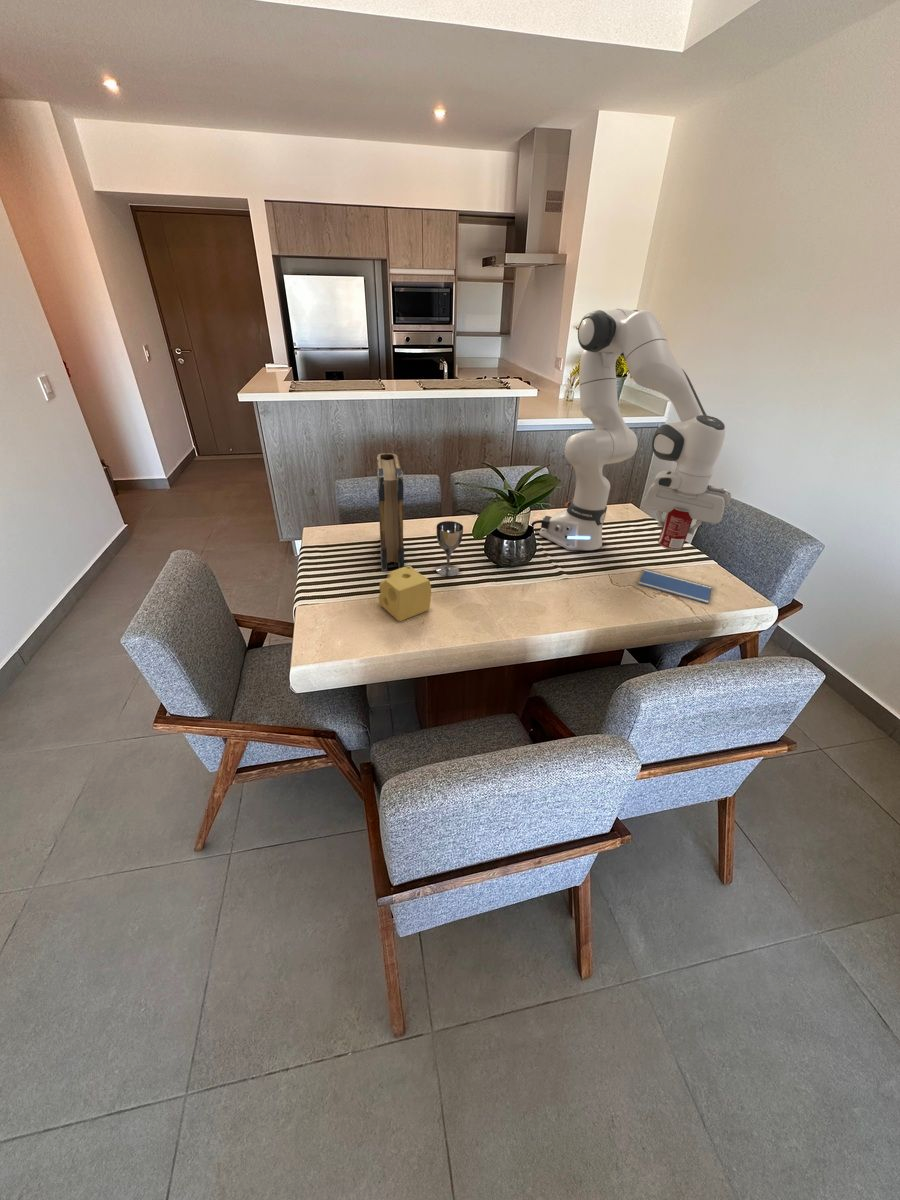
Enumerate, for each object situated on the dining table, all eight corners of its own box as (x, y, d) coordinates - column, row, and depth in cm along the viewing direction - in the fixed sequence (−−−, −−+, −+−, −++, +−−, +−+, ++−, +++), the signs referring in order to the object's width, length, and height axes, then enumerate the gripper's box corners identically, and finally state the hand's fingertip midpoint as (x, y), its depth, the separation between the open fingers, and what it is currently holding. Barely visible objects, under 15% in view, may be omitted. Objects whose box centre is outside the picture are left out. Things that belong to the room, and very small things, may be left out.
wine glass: (455, 562, 160) (457, 519, 152) (464, 574, 154) (467, 530, 145) (431, 566, 157) (432, 522, 149) (439, 578, 151) (441, 533, 143)
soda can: (684, 553, 138) (698, 513, 131) (659, 549, 139) (671, 509, 132) (680, 542, 144) (693, 503, 137) (655, 539, 145) (667, 500, 138)
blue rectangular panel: (638, 584, 153) (638, 583, 153) (645, 569, 161) (645, 568, 161) (707, 604, 145) (707, 603, 145) (711, 587, 154) (711, 586, 153)
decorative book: (404, 569, 155) (403, 476, 138) (381, 570, 154) (377, 476, 137) (399, 536, 174) (398, 451, 158) (378, 537, 173) (375, 451, 157)
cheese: (378, 605, 138) (377, 574, 132) (411, 593, 143) (411, 563, 138) (398, 623, 131) (398, 591, 125) (432, 610, 136) (432, 579, 131)
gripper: (734, 486, 129) (716, 534, 137) (653, 470, 137) (640, 516, 145) (732, 494, 124) (713, 543, 132) (649, 476, 133) (636, 524, 140)
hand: (675, 529), depth 139 cm, fingers closed on soda can, 7 cm apart
